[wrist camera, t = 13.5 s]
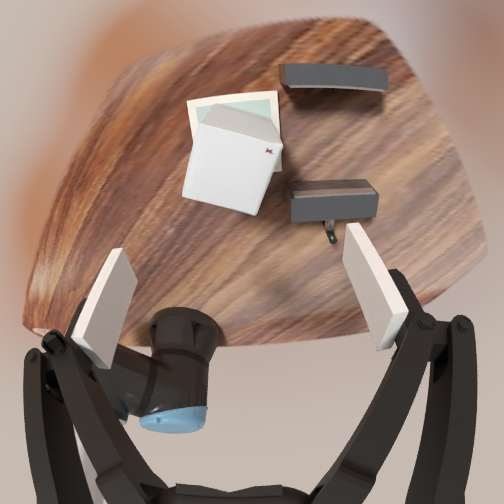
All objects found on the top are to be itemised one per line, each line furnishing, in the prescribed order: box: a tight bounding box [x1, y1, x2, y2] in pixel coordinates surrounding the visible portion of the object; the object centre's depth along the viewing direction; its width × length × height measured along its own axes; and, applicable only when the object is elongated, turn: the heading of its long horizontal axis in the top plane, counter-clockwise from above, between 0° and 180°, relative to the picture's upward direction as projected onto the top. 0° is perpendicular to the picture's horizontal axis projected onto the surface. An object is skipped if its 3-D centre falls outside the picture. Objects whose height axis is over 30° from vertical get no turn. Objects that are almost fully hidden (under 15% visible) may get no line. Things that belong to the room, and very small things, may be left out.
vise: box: [279, 64, 388, 244], centre depth 33 cm, size 12×24×5 cm, turn 5°
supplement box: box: [182, 103, 283, 216], centre depth 28 cm, size 7×7×13 cm
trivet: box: [187, 91, 282, 172], centre depth 33 cm, size 11×11×1 cm
